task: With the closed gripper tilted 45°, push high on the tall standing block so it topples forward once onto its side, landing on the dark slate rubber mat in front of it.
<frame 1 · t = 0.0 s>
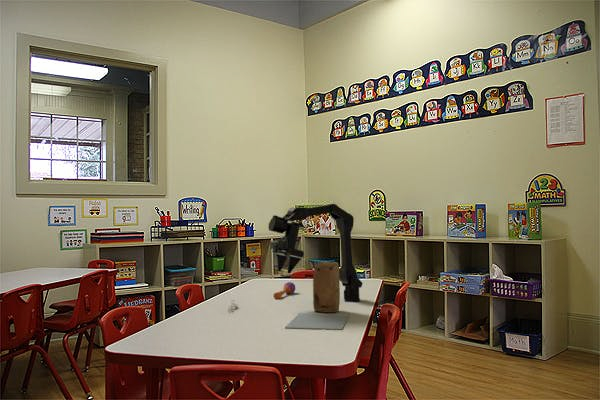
hand: (283, 272, 208), 15 cm above the table, tool pointing down, fingers open, 9 cm apart
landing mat: (318, 321, 181), on the table
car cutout: (230, 311, 207), on the table
block: (326, 312, 200), on the table
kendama: (284, 296, 242), on the table
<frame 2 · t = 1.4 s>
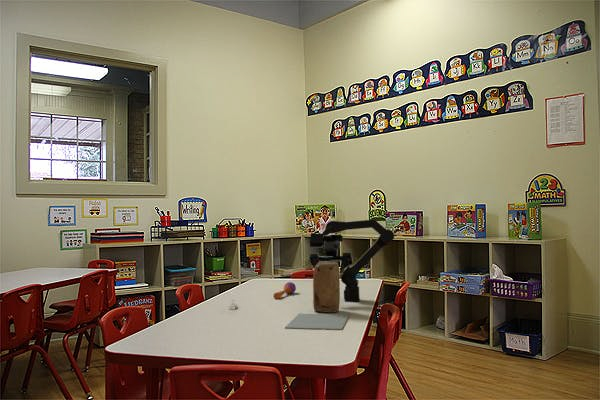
hand: (329, 274, 213), 14 cm above the table, tool tilted 45°, fingers open, 9 cm apart
nothing on the table moved.
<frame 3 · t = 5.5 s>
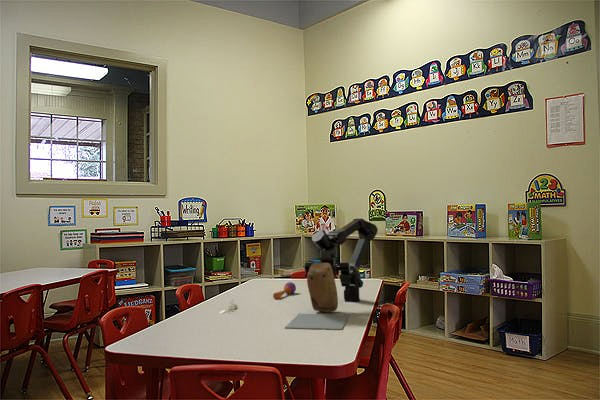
hand: (325, 285, 200), 11 cm above the table, tool tilted 45°, fingers closed
block: (326, 307, 200), point 2 cm above the table
everything else where it was.
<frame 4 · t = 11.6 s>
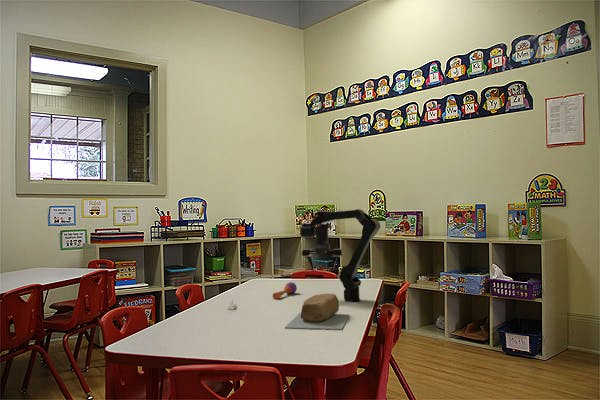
hand: (322, 270, 231), 13 cm above the table, tool pointing down, fingers open, 9 cm apart
block: (327, 302, 197), point 4 cm above the table, touching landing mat
everything else where it was.
at the end: block tilted 92°; block touching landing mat; block inside the target area (8.4 cm from its centre), point 4.4 cm above the table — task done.
